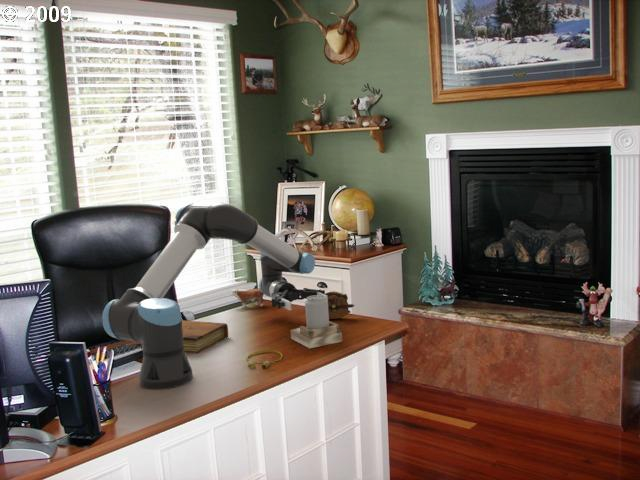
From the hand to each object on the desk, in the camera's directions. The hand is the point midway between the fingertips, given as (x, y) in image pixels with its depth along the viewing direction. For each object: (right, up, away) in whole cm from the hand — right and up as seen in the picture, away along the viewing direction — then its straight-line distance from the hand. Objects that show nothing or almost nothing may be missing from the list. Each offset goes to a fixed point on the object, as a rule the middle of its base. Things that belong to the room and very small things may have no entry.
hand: (308, 302), depth 246 cm
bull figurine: (-25, -6, +48) cm, 55 cm away
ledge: (+3, -12, -2) cm, 13 cm away
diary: (-42, -15, +4) cm, 45 cm away
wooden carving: (+9, -8, +23) cm, 26 cm away
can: (+3, -10, -4) cm, 11 cm away
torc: (-14, -17, -20) cm, 29 cm away
